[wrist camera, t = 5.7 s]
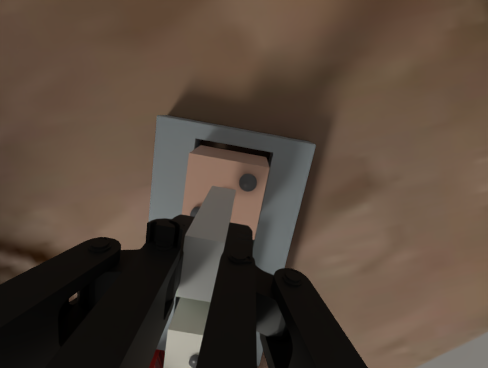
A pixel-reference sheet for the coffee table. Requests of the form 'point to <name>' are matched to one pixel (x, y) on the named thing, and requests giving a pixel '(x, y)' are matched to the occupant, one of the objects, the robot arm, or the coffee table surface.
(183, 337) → the key one
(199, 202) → the key three
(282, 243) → the keypad board
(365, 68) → the coffee table surface
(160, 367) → the mug
